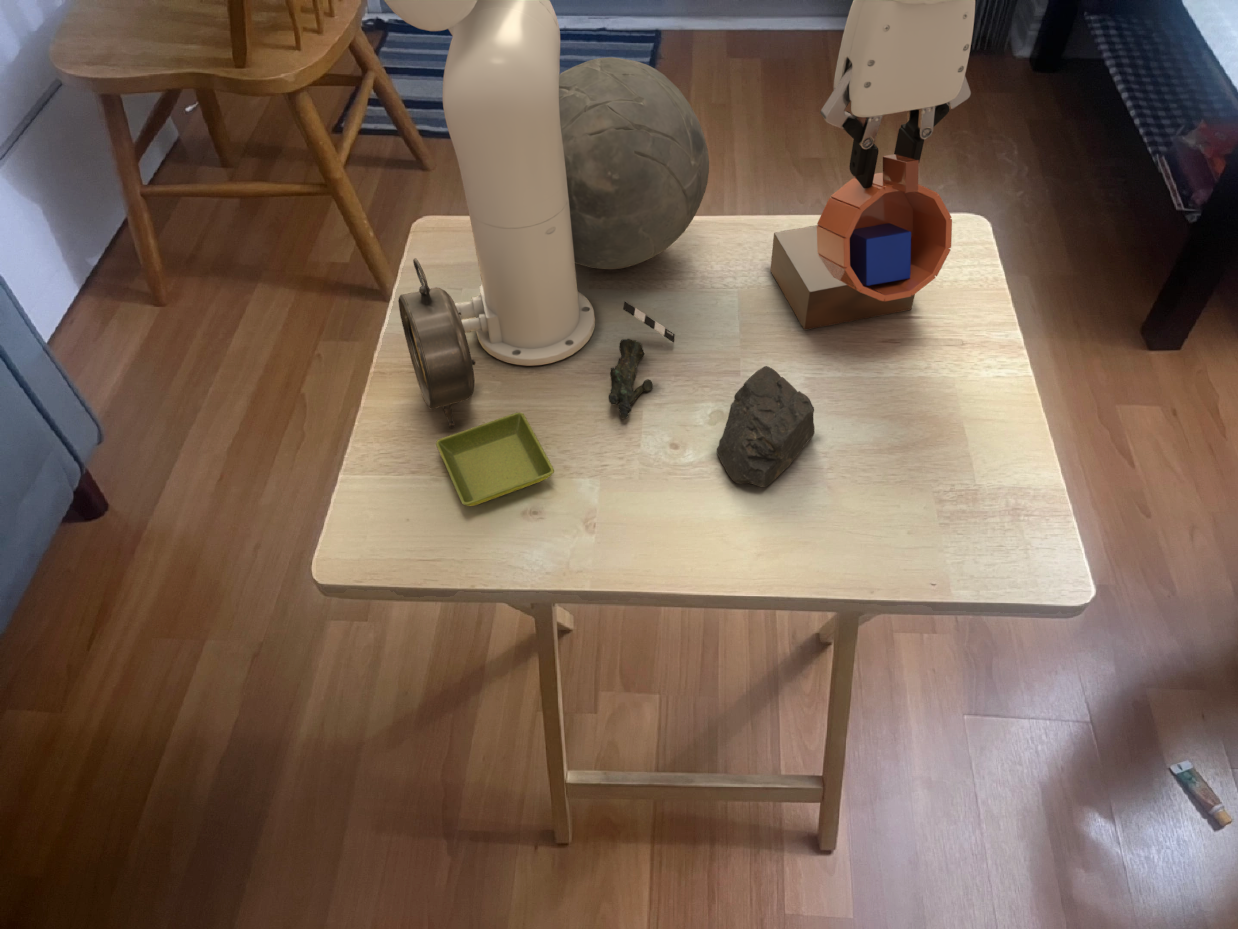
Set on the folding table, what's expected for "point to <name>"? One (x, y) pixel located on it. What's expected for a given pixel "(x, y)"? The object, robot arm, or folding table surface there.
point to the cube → (880, 254)
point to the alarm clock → (437, 346)
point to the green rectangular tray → (494, 459)
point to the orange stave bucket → (880, 204)
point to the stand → (820, 284)
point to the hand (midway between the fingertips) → (882, 174)
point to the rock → (765, 428)
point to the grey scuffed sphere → (628, 161)
